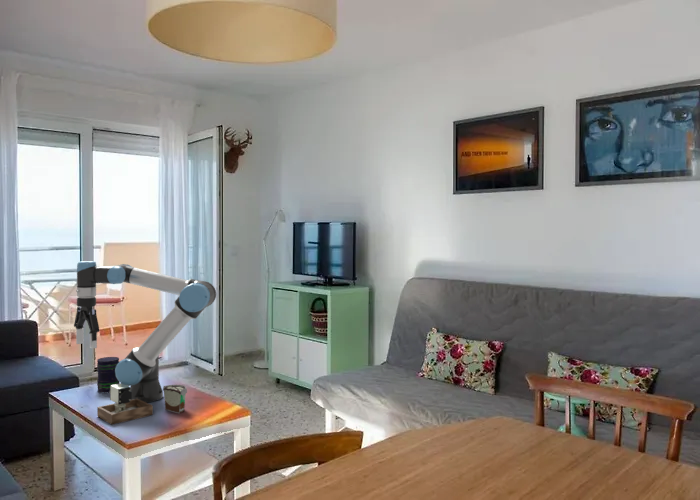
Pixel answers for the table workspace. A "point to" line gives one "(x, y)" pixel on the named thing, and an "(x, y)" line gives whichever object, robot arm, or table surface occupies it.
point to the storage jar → (106, 373)
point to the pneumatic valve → (120, 396)
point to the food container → (175, 398)
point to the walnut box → (132, 412)
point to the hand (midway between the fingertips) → (86, 345)
